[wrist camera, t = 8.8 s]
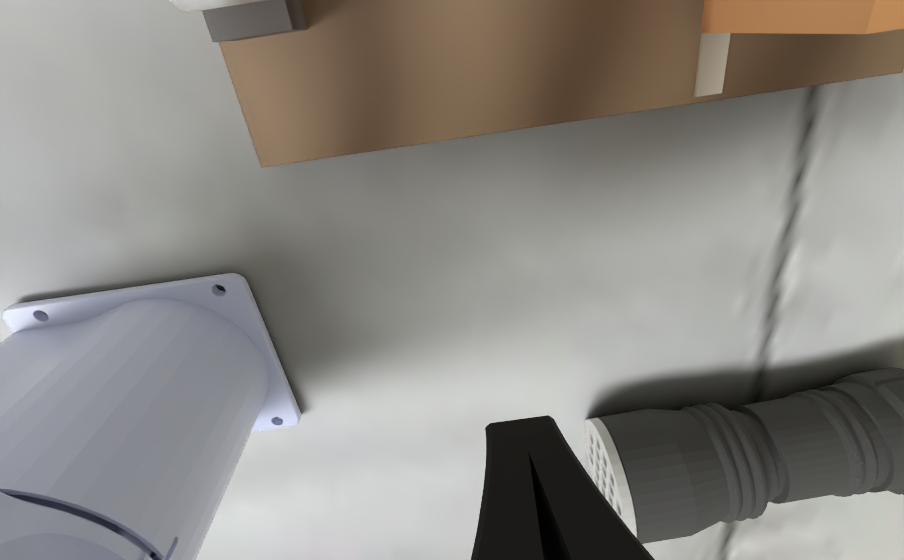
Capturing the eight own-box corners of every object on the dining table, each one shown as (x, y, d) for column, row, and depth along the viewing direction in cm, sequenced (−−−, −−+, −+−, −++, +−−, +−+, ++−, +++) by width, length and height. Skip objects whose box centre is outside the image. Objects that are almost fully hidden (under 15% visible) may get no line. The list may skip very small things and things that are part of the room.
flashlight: (905, 337, 21) (1043, 425, 17) (875, 419, 24) (986, 514, 19) (581, 396, 22) (625, 496, 17) (586, 468, 25) (625, 573, 20)
